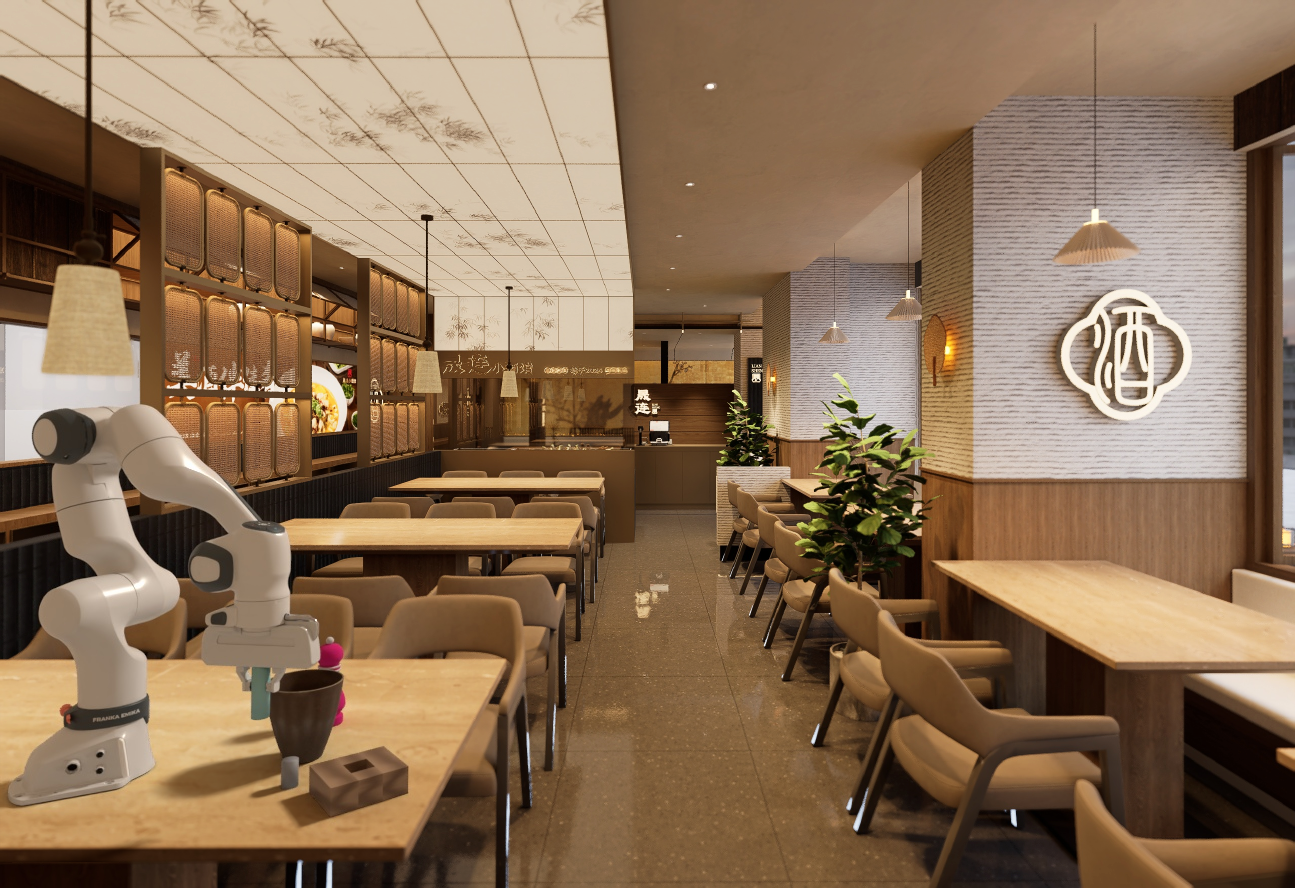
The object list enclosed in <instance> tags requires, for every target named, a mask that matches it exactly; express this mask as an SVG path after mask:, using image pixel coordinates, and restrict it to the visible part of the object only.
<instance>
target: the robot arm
mask: <svg viewBox="0 0 1295 888" xmlns="http://www.w3.org/2000/svg"><path fill="white" fill-rule="evenodd" d="M31 442H32V445H33V449H34V450H35V452H36V453H37V455H39V457H40V458H41V459H42V460H44V461H45V462H47V463H50V464H54V465H53V466H52V470H51V486H52V487H51V489H52V499H53V505H54V510H55V514H56V519H57V522H58V523H57V524H58V526H59V531H60V534H61V539H62V543H63V547H64V549H65V551H66V552H67V553H68V554H69V555H70V556H72V557H74V558H77V559H79V560H81V561H83V562H85V563H87V565H89V566H90V567H91V569H92V570H93V571H94V573H95V574H96V575H97V576H91V577H86V578H80V579H79V578H78V579H76V580H72V581H70V582H67V583H65V584H62V585H60V586H58V587H56V588H53V589H51V590H49V591H48V592H47V593H46V594H45V595H44V596H43V598H42V600H41V602H40V605H39V608H38V620H39V624H40V625H41V627H42V629H44V631H45V633H47V634H48V635H49V636H51V637H53V638H54V639H56V640H59V641H60V642H62V643H63V645H65V646H66V647H67V649H68V650H69V652H70V653H71V656H72V658H73V660H74V664H75V669H76V686H77V691H76V692H77V700H76V701H77V703H75V704H74V705H71V704H70V703H65V704H63V705H61V707H60V708H59V714H60V716H61V717H63V719H62V721H63V727H61V728H60V729H59V730H57V731H56V732H55V733H54V734H53V735H51V736H50V737H47V739H46V740H44V741H43V742H41V743H40V744H39V745H38V746H36V747H35V748H34V749H33V750H32V752H31V753H30V754H29V756H28V758H27V761H26V763H25V766H24V770H23V773H22V774H21V775H18V776H17V777H15V778H14V779H13V780H11V782H10V783H9V785H8V788H7V799H8V801H9V802H10V803H12V804H13V805H17V806H27V805H33V804H39V803H44V802H50V801H55V800H56V801H57V800H62V799H68V798H73V797H78V796H84V795H89V794H94V793H95V794H96V793H101V792H106V791H111V790H116V789H120V788H122V787H124V786H126V785H127V784H128V783H129V782H131V781H133V780H134V779H136V778H138V777H140V776H143V775H144V774H146V773H147V772H149V771H151V770H152V769H153V768H154V767H155V765H156V759H155V757H154V754H153V751H152V747H151V742H150V737H149V736H150V735H149V728H148V724H149V721H150V716H151V715H150V714H151V713H150V712H151V699H150V695H149V693H148V691H147V689H148V658H147V656H146V655H145V653H144V652H143V651H141V650H139V649H138V648H136V647H133V646H130V645H129V643H127V639H126V636H125V628H127V627H131V626H135V625H138V624H142V623H146V622H150V621H153V620H154V619H156V618H159V617H161V616H163V615H164V614H166V613H168V612H170V611H171V610H173V609H174V608H175V607H176V606H177V604H178V601H179V598H180V595H181V594H180V593H181V589H180V588H181V586H180V584H179V583H180V582H179V581H178V579H177V578H176V577H177V576H175V575H174V574H173V572H171V571H170V570H168V569H166V568H164V567H162V566H160V565H159V564H157V562H155V561H154V560H153V559H152V558H151V557H150V556H149V555H148V554H147V552H146V551H145V550H144V548H143V547H142V546H141V544H140V542H139V541H138V539H137V537H136V535H135V532H134V529H133V526H132V523H131V519H130V516H129V512H128V509H127V503H126V500H125V497H124V493H123V489H122V487H121V483H120V478H119V476H120V471H121V469H122V470H123V472H124V474H125V476H126V477H127V479H128V480H129V482H130V483H131V485H133V487H134V488H135V489H136V490H138V491H139V492H140V493H141V494H142V495H144V496H145V497H147V498H149V499H152V500H156V501H159V502H164V503H165V502H167V503H173V504H177V505H178V504H179V505H184V506H188V507H192V508H196V509H197V510H201V511H202V512H203V511H204V512H206V513H207V514H209V515H211V516H212V517H213V518H215V520H216V521H217V522H218V523H219V524H220V525H221V526H222V528H224V530H225V532H227V534H225V535H222V536H219V537H216V538H212V539H210V540H206V541H203V542H201V543H199V544H198V545H196V546H195V548H194V549H193V550H192V552H191V553H190V556H189V559H188V562H187V563H188V564H187V569H188V575H189V578H190V579H189V580H190V581H191V583H192V584H193V585H194V586H195V588H197V589H199V591H201V592H203V593H211V594H214V593H215V594H216V593H223V592H224V593H225V592H228V591H233V593H234V597H233V598H234V599H233V604H230V605H226V606H225V607H221V608H219V609H217V610H213V611H211V612H209V613H206V615H205V616H204V617H205V618H204V619H205V620H204V621H205V624H206V626H207V627H205V629H204V631H203V634H202V640H201V649H200V650H201V651H200V652H201V654H200V656H201V657H200V658H201V661H202V662H203V663H204V665H205V666H215V667H217V666H219V667H235V673H236V675H237V676H238V678H239V680H240V682H241V688H242V689H241V690H242V692H251V676H252V675H251V674H250V672H249V670H250V669H252V667H266V668H271V672H272V674H273V677H272V678H273V679H272V680H271V681H269V682H267V683H266V687H267V689H266V692H273V693H275V692H277V691H278V690H279V687H280V680H281V678H282V676H283V675H284V673H287V669H296V670H297V669H298V670H308V669H311V668H312V667H314V666H316V665H317V663H318V661H319V660H320V646H321V644H320V639H319V634H320V623H319V621H318V620H317V619H316V618H315V617H313V616H312V615H311V614H296V613H290V611H291V590H290V588H289V577H290V574H291V569H292V568H291V564H292V563H291V561H292V552H291V551H292V550H291V543H290V542H291V541H290V537H289V533H288V531H287V528H286V527H285V526H284V525H282V524H280V523H278V522H274V521H270V520H269V521H267V520H262V518H261V517H260V515H258V514H257V512H256V511H255V510H254V509H253V508H252V507H251V505H250V504H249V503H248V502H247V501H246V500H245V499H244V498H243V497H242V495H241V494H240V493H239V491H238V490H237V489H235V487H233V485H232V484H231V483H230V482H229V481H228V480H227V479H225V477H223V476H222V475H221V474H219V473H218V472H216V471H215V470H214V469H212V468H211V467H210V466H208V465H207V464H206V463H204V462H203V461H202V459H200V458H199V457H198V456H197V455H196V454H195V453H194V452H193V451H192V449H191V448H190V447H189V446H188V444H187V443H186V442H185V440H184V439H183V437H182V436H181V434H180V433H179V432H178V430H177V429H176V428H175V427H174V426H173V425H172V423H171V422H170V421H169V420H168V419H167V418H166V417H165V416H164V415H163V414H162V413H161V412H159V410H158V409H156V408H154V407H153V406H150V405H146V404H141V403H136V404H130V405H126V406H123V407H120V406H105V405H103V406H96V407H93V406H92V407H82V408H81V407H80V408H68V407H67V408H65V407H63V408H58V409H52V410H49V411H48V410H47V411H45V412H43V413H42V414H40V415H39V416H38V418H37V419H36V421H34V424H33V426H32V430H31Z"/></svg>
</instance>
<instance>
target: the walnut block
mask: <svg viewBox="0 0 1295 888" xmlns="http://www.w3.org/2000/svg"><path fill="white" fill-rule="evenodd" d="M308 768H309V769H308V771H309V772H308V775H309V777H308V793H309V794H310V795H311V796H312V797H313V799H314V800H315V801H316V802H317V803H318V805H320V807H321V808H322V810H324V811H325V812H326V814H327V815H328V816H329V817H330V818H332V817H336V816H339V815H343V814H345V813H348V812H351V811H354V810H358V809H361V808H364V807H369V806H371V805H374V804H378V803H380V802H381V803H382V802H383V801H387V800H390V799H393V798H397V797H400V796H403V795H406V794H408V793H409V765H407V763H405V762H404V761H403V760H401V759H400V758H399V757H398V756H397V755H395V754H394V753H393V752H392V751H390V750H389V749H388V748H387V747H385V745H382V746H379V747H375V748H370V749H368V750H363V751H359V752H355V753H351V754H348V755H344V756H340V757H337V758H333V759H328V760H324V761H321V762H318V763H316V762H315V763H314V764H310V765H309V766H308Z"/></svg>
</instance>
